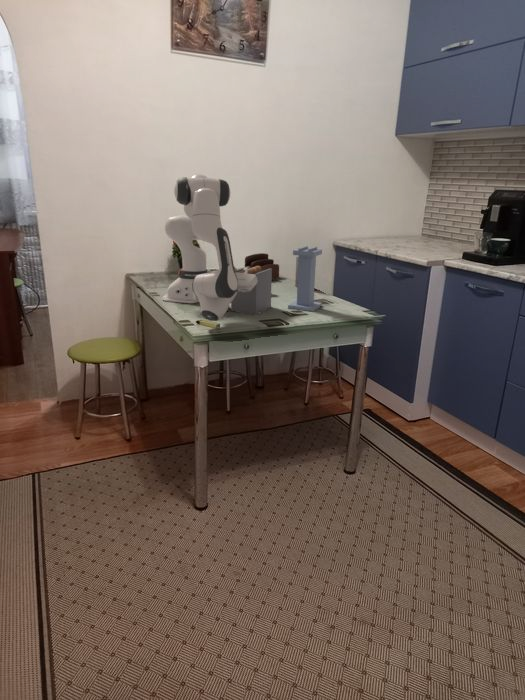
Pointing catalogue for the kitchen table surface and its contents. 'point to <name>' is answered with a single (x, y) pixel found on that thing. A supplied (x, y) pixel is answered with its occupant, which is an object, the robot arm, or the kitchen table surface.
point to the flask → (296, 271)
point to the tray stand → (254, 294)
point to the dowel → (252, 270)
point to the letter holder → (262, 263)
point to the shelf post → (306, 279)
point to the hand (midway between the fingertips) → (240, 268)
